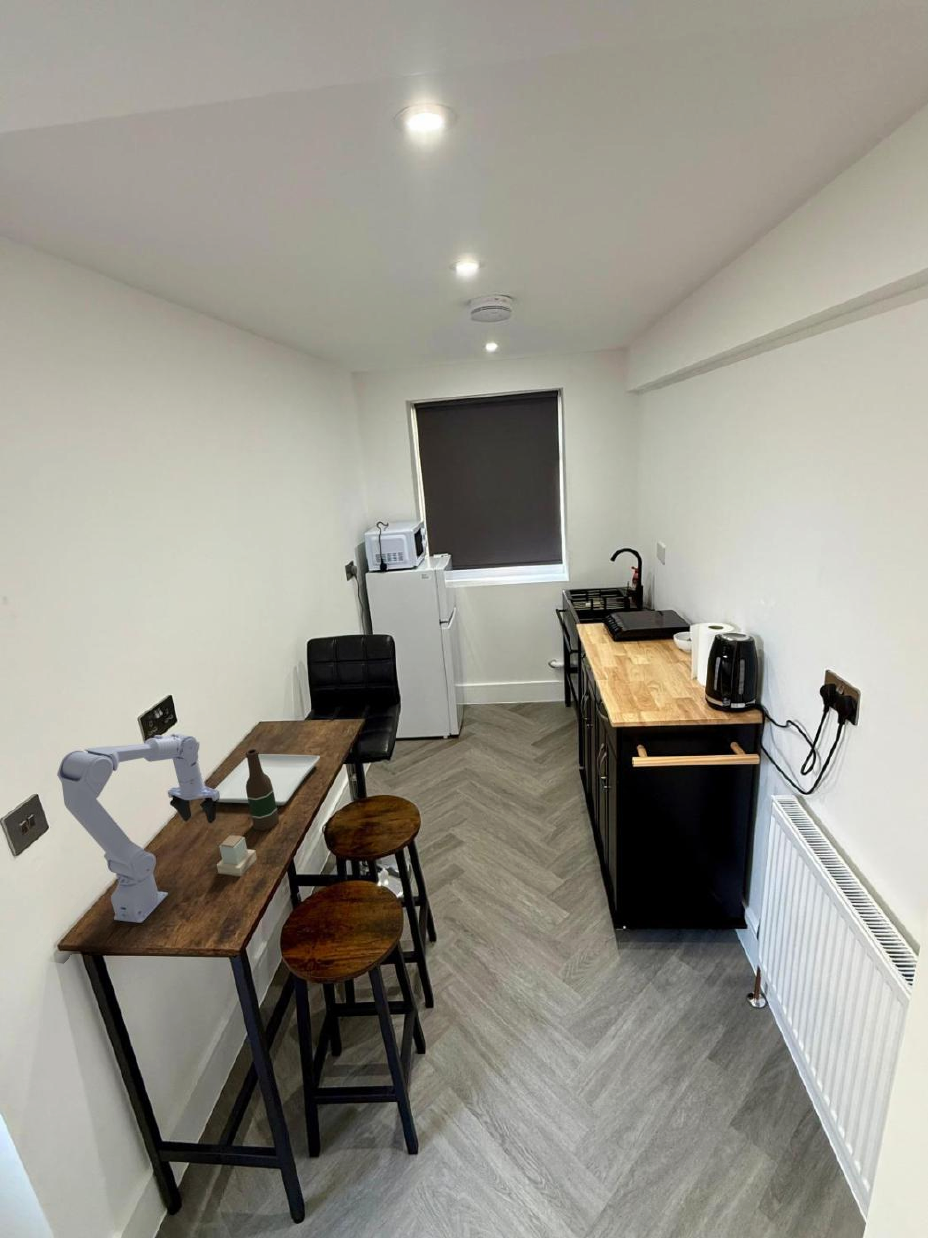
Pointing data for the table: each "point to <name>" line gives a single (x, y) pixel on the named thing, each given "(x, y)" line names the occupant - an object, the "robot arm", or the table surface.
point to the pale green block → (233, 849)
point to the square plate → (277, 767)
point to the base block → (237, 869)
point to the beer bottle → (260, 794)
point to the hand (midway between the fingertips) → (200, 820)
